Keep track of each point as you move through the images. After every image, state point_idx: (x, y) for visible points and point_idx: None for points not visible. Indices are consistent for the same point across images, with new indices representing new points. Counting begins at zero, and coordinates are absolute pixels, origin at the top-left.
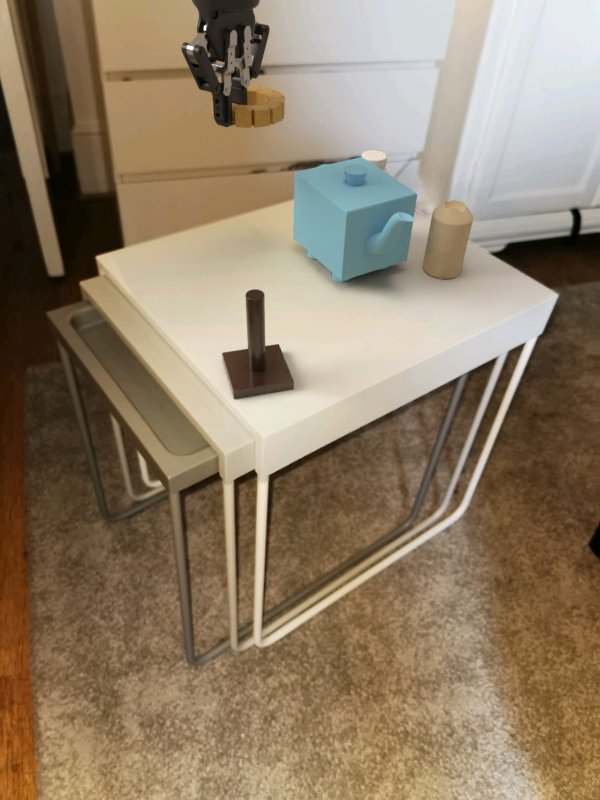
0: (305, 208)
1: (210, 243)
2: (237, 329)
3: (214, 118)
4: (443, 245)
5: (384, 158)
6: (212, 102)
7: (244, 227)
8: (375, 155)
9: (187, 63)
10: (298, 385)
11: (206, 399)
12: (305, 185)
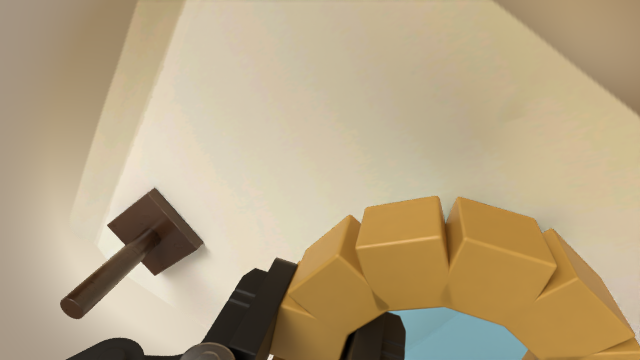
0: None
1: (429, 34)
2: (214, 183)
3: (247, 274)
4: None
5: None
6: (320, 263)
7: (526, 77)
8: None
9: None
10: (168, 271)
11: (98, 193)
12: (436, 321)
